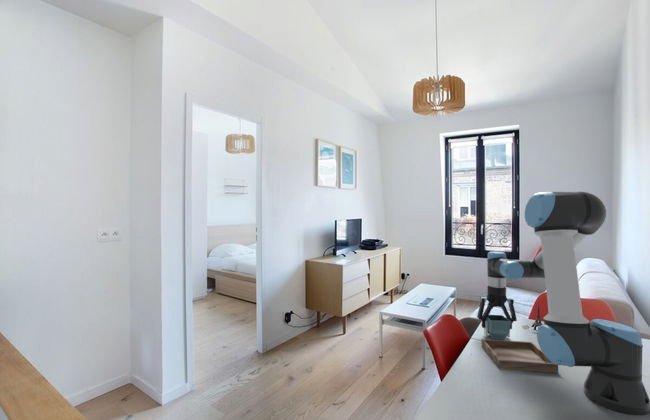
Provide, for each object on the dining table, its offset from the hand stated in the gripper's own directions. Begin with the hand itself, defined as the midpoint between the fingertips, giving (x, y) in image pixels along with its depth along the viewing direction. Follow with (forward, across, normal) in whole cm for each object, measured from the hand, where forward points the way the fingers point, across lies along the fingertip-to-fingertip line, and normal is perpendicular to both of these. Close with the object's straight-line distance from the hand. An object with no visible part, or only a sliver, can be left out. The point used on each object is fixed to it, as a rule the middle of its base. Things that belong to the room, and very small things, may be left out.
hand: (496, 335), depth 148 cm
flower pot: (+1, 0, 0) cm, 1 cm away
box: (+1, 0, +21) cm, 21 cm away
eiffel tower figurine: (+2, -24, -14) cm, 28 cm away
